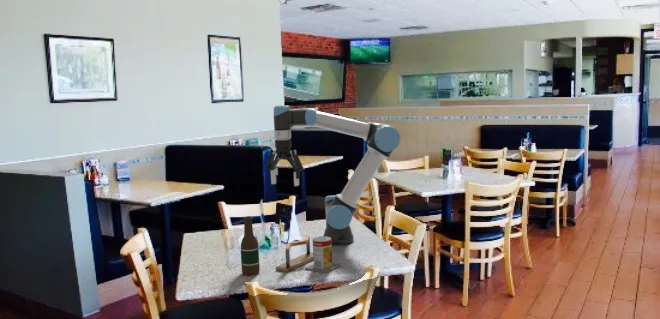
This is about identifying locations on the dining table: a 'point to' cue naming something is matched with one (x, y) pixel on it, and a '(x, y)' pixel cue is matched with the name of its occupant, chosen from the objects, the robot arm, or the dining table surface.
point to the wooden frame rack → (299, 260)
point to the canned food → (322, 252)
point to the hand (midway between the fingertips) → (285, 184)
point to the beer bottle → (249, 250)
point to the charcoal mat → (323, 269)
